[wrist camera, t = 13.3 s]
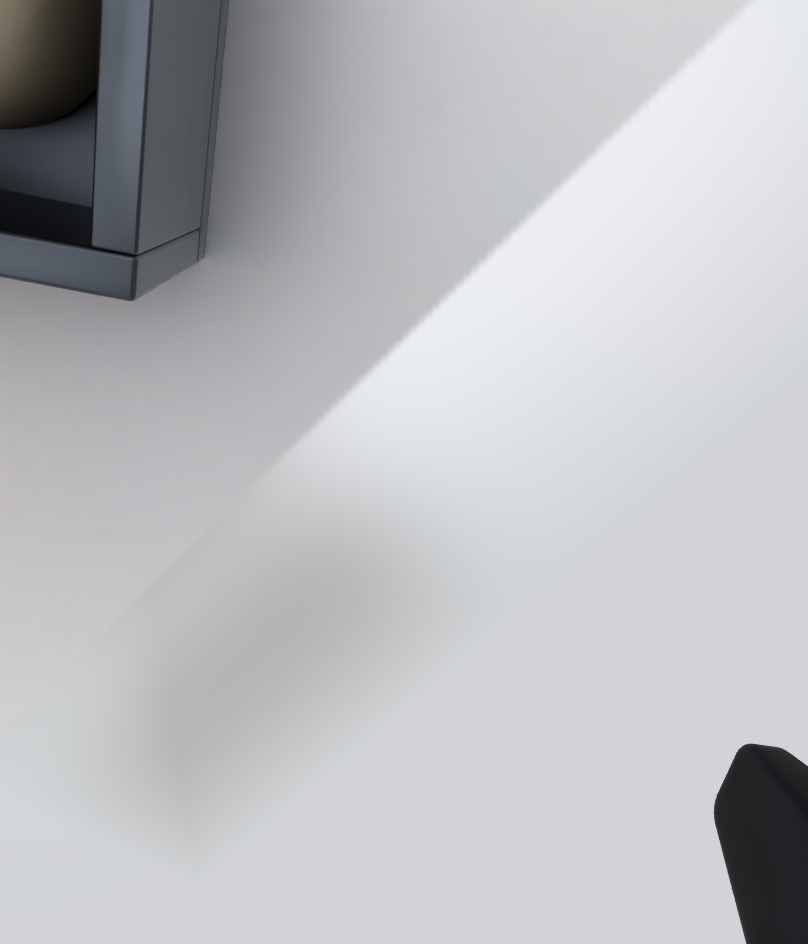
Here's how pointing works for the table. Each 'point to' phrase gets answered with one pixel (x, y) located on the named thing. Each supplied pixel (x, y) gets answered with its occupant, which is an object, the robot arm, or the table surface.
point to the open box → (121, 158)
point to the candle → (46, 59)
